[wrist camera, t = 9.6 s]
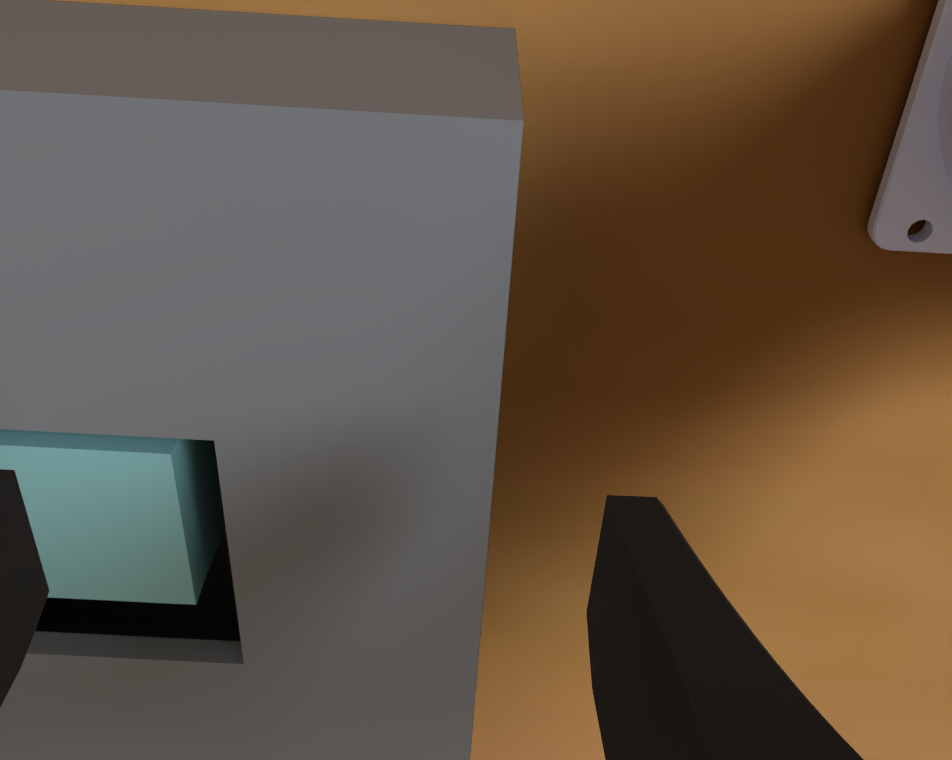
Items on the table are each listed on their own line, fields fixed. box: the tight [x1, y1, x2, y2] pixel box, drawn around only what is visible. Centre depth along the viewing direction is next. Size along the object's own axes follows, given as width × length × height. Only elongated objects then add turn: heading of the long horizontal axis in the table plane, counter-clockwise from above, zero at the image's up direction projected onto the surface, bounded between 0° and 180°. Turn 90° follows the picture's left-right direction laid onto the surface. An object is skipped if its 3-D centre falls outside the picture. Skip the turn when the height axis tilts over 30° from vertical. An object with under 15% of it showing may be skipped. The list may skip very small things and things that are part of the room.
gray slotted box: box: [0, 0, 524, 760], centre depth 20 cm, size 16×18×6 cm
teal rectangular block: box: [0, 429, 225, 605], centre depth 20 cm, size 4×4×5 cm
